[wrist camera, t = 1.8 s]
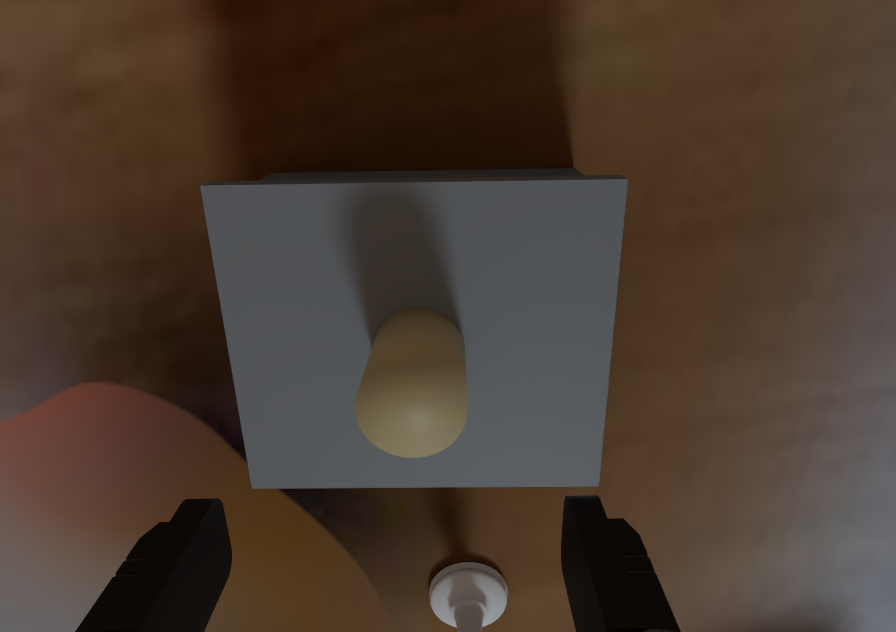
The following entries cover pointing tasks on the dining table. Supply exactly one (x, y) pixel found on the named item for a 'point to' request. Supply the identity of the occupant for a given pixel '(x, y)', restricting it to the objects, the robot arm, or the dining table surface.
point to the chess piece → (468, 596)
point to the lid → (419, 327)
